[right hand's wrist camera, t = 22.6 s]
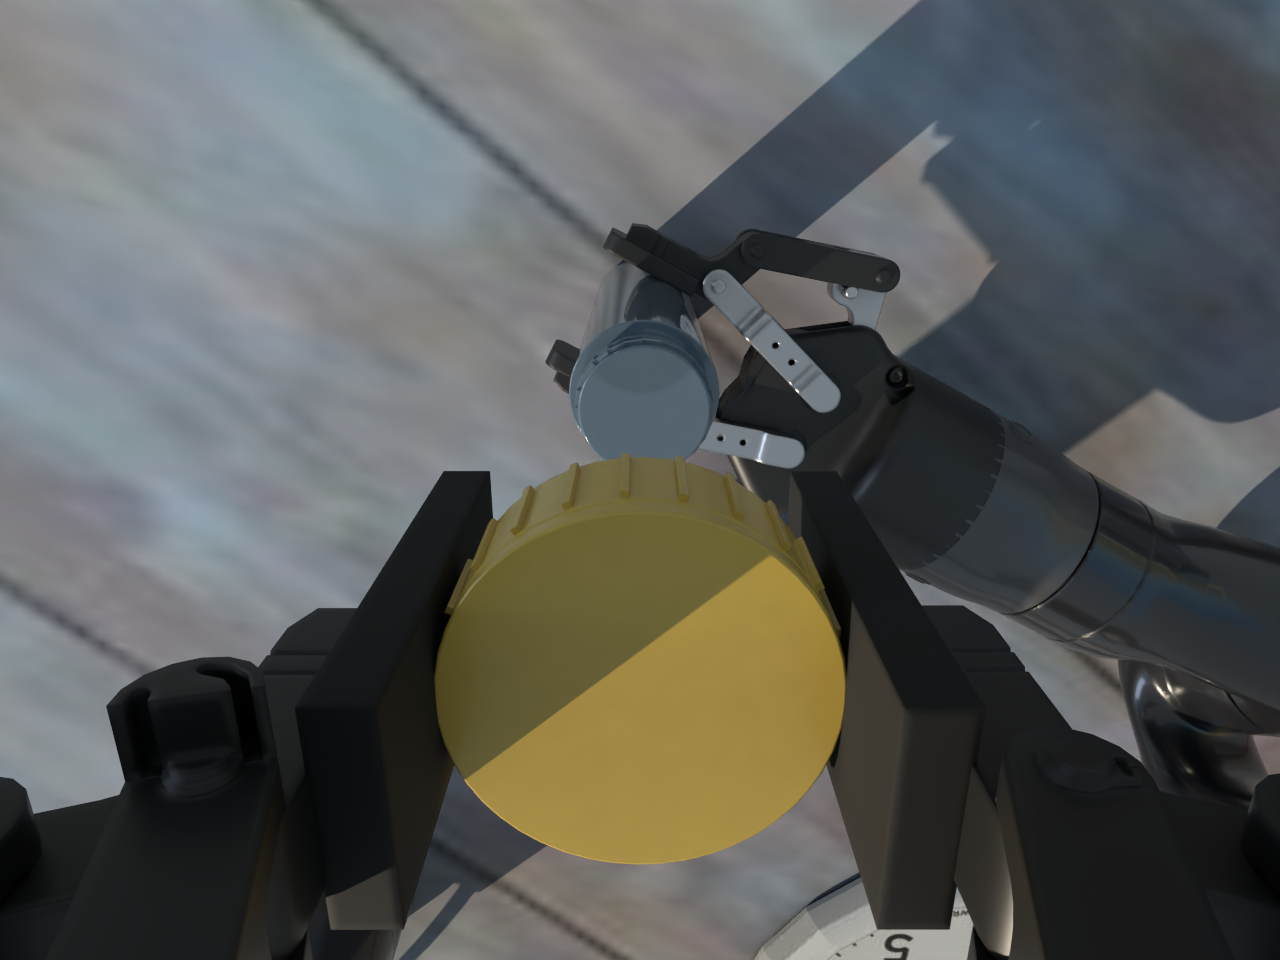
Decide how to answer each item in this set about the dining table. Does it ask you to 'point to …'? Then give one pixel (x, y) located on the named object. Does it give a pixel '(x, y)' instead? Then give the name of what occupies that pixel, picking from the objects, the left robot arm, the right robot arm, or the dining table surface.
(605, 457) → the clear plastic cylinder
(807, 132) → the dining table surface
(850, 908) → the wall clock
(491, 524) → the lid
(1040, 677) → the dining table surface
